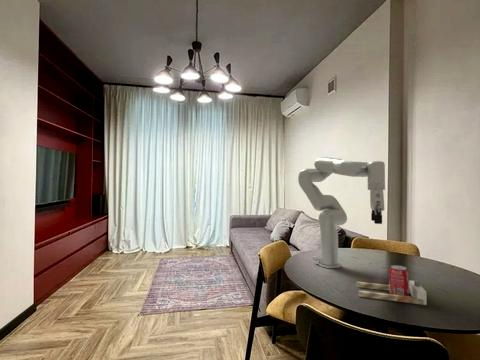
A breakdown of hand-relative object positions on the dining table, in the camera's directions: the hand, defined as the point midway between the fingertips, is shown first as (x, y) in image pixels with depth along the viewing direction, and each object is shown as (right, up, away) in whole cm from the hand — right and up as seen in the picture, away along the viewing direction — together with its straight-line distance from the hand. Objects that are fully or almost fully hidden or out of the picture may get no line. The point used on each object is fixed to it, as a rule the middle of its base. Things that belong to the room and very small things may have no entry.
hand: (376, 222), depth 128 cm
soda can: (0, -28, -17) cm, 33 cm away
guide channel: (-4, -28, -16) cm, 33 cm away
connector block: (+7, -28, -19) cm, 35 cm away
